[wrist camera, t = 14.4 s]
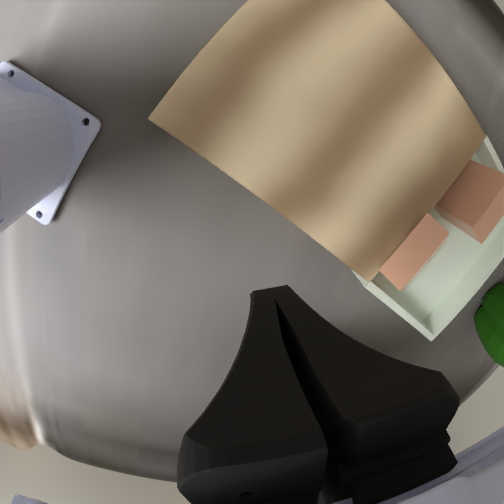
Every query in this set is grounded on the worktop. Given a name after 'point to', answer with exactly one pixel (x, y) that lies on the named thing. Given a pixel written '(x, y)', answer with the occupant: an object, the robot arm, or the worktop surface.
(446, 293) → the tray
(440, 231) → the tile
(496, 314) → the bell pepper
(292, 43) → the board
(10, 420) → the worktop surface
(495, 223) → the tile
